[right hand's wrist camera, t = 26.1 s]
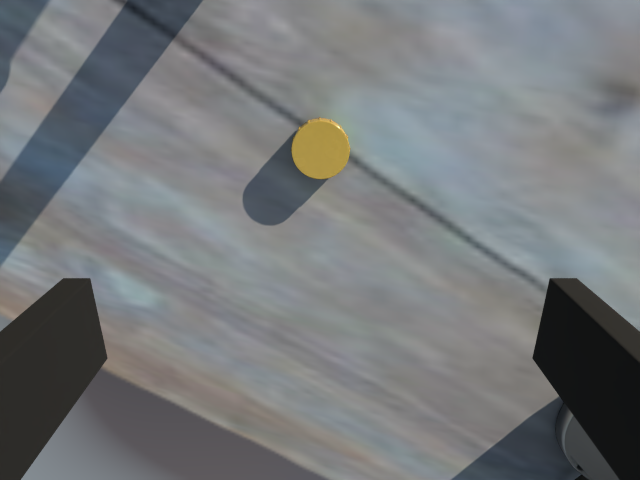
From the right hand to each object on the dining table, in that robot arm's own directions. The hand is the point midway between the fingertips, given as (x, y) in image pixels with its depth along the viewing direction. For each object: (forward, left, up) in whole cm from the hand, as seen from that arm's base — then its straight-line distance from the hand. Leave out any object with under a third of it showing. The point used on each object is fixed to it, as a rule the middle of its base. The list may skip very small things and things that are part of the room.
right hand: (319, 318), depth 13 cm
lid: (0, 0, -25) cm, 25 cm away
